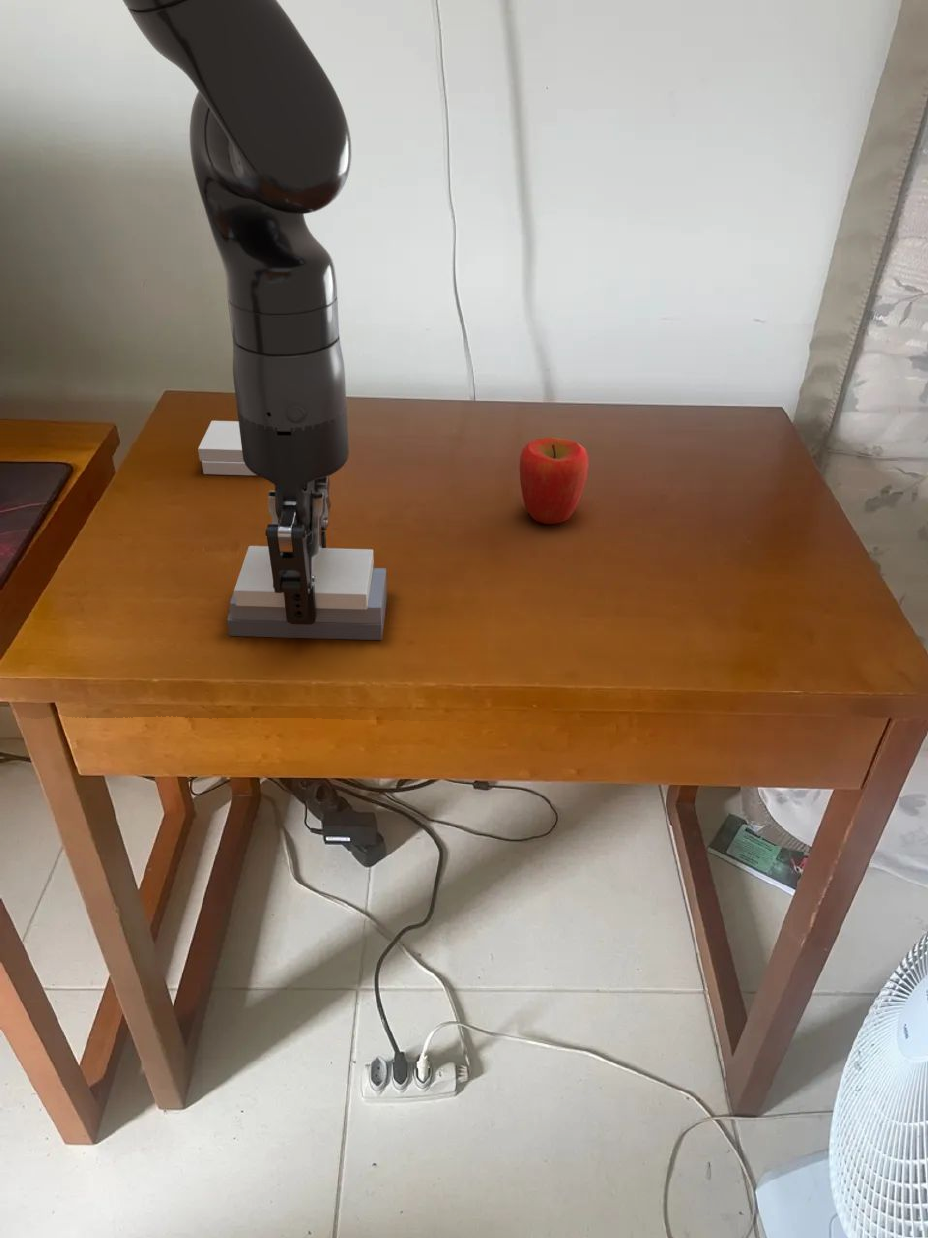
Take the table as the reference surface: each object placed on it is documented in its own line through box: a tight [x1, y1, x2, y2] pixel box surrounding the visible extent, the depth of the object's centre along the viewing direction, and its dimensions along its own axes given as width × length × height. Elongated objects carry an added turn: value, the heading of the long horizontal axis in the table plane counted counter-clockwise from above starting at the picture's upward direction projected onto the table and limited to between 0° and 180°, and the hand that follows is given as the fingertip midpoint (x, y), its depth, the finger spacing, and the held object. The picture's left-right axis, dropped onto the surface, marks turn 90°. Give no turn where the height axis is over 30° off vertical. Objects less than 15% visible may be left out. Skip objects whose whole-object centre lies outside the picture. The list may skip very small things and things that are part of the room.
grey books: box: [226, 567, 388, 641], centre depth 78 cm, size 12×6×3 cm, turn 89°
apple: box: [519, 437, 590, 525], centre depth 91 cm, size 6×6×8 cm
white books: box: [197, 420, 259, 477], centre depth 99 cm, size 10×6×3 cm, turn 89°
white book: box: [233, 545, 375, 610], centre depth 77 cm, size 10×6×2 cm, turn 89°
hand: (308, 595), depth 78 cm, fingers closed on white book, 6 cm apart
